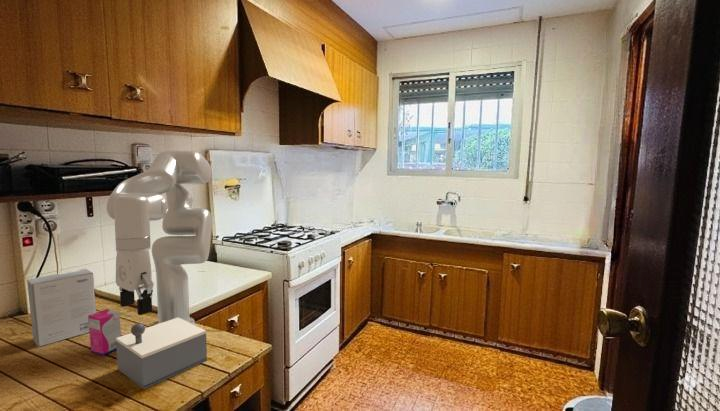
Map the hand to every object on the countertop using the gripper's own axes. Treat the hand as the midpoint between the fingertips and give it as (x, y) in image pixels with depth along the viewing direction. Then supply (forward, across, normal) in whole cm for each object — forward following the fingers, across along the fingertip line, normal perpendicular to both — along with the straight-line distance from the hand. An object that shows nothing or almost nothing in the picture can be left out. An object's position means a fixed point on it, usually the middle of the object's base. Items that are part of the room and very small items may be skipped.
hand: (136, 309), depth 94 cm
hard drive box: (+18, -44, -3) cm, 47 cm away
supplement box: (+18, -23, +1) cm, 29 cm away
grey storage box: (+18, -1, +7) cm, 19 cm away
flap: (+10, -1, +7) cm, 12 cm away
